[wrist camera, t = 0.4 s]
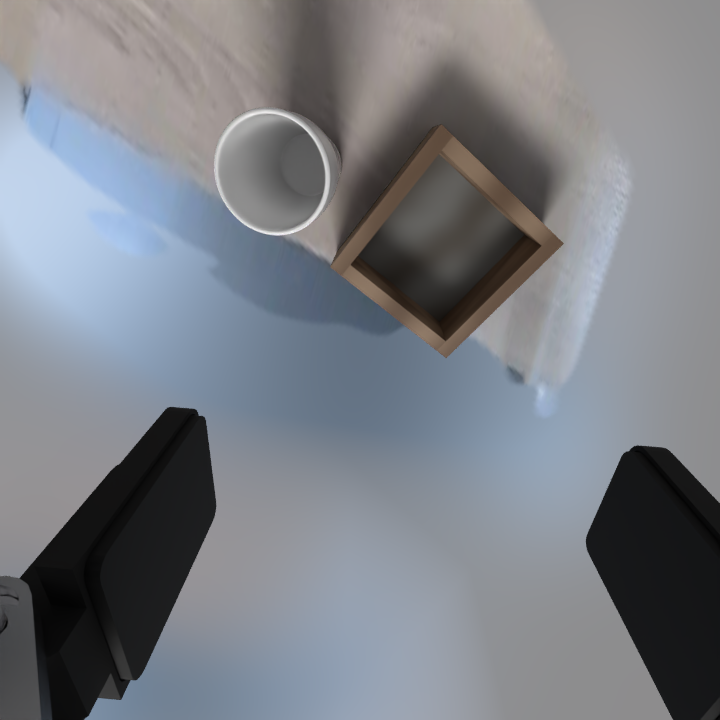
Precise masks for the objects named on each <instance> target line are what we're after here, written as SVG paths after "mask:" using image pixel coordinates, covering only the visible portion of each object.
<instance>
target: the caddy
mask: <svg viewBox="0 0 720 720" xmlns="http://www.w3.org/2000/svg"><path fill="white" fill-rule="evenodd" d="M563 244H564V243H563V242H562V241H561V240H560V239H558V238H557V237H556V236H555V235H554V234H553V233H552V232H551V231H550V230H549V229H548V228H547V227H546V226H545V225H544V224H543V223H542V222H541V221H540V220H539V219H538V218H537V217H536V216H535V215H534V214H533V213H532V212H531V211H530V210H529V209H528V208H527V207H526V206H525V205H524V204H523V203H522V202H521V201H519V200H518V199H517V198H516V197H515V196H514V195H513V194H512V193H511V192H510V191H509V190H508V189H507V188H506V187H505V186H504V185H503V184H502V183H501V182H500V181H499V180H498V179H497V178H496V177H495V176H494V175H493V174H492V173H491V172H490V171H489V170H488V169H487V168H486V167H485V166H484V165H483V164H482V163H481V162H479V161H478V160H477V159H476V158H475V157H474V156H473V155H472V154H471V153H470V152H469V151H468V150H467V149H466V148H465V147H464V146H463V145H462V144H461V143H460V142H459V141H458V140H457V139H456V138H455V137H454V136H453V135H452V134H451V133H450V132H449V131H448V130H447V129H446V128H445V127H444V126H443V125H442V124H440V125H438V126H435V127H433V128H432V129H431V130H430V132H429V133H428V134H427V136H426V137H425V138H424V140H423V141H422V142H421V143H420V145H419V146H418V147H417V149H416V150H415V151H414V153H413V154H412V155H411V156H410V158H409V159H408V160H407V162H406V163H405V164H404V166H403V167H402V168H401V169H400V171H399V172H398V173H397V175H396V176H395V177H394V178H393V180H392V181H391V182H390V184H389V185H388V186H387V188H386V189H385V190H384V191H383V193H382V194H381V195H380V197H379V198H378V199H377V201H376V202H375V203H374V204H373V206H372V207H371V208H370V210H369V211H368V212H367V214H366V215H365V216H364V217H363V219H362V220H361V221H360V223H359V224H358V225H357V227H356V228H355V229H354V230H353V232H352V233H351V234H350V236H349V237H348V238H347V240H346V241H345V242H344V243H343V245H342V246H341V247H340V249H339V250H338V251H337V253H336V255H335V257H334V260H333V262H332V264H331V268H332V269H334V270H335V271H336V272H337V273H339V274H340V275H341V276H342V277H344V278H345V279H346V280H348V281H349V282H350V283H351V284H353V285H354V286H355V287H356V288H358V289H359V290H360V291H362V292H363V293H364V294H365V295H367V296H368V297H369V298H370V299H372V300H373V301H374V302H375V303H377V304H378V305H379V306H381V307H382V308H383V309H384V310H386V311H387V312H388V313H389V314H391V315H392V316H393V317H395V318H396V319H397V320H398V321H400V322H401V323H402V324H403V325H405V326H406V327H407V328H409V329H410V330H411V331H412V332H414V333H415V334H416V335H418V336H419V337H420V338H421V339H423V340H424V341H425V342H426V343H428V344H429V345H430V346H431V347H433V348H434V349H435V350H437V351H438V352H439V353H440V354H442V355H443V356H444V357H445V358H447V357H448V356H449V355H450V354H451V353H452V352H453V351H454V350H455V349H456V348H457V347H458V346H459V345H460V344H461V343H462V342H463V341H464V340H465V339H466V338H467V337H468V336H469V335H470V334H471V333H473V332H474V331H475V330H476V329H477V328H478V327H479V326H480V325H481V324H482V323H483V322H484V321H485V320H486V319H487V318H488V317H489V316H490V315H491V314H492V313H493V312H494V311H495V310H496V309H497V308H498V307H499V306H500V305H501V304H502V303H503V302H504V301H505V300H506V299H507V298H508V297H509V296H510V295H512V294H513V293H514V292H515V291H516V290H517V289H518V288H519V287H520V286H521V285H522V284H523V283H524V282H525V281H526V280H527V279H528V278H529V277H530V276H531V275H532V274H533V273H534V272H535V271H536V270H537V269H538V268H539V267H540V266H541V265H542V264H543V263H544V262H545V261H546V260H547V259H548V258H550V257H551V256H552V255H553V254H554V253H555V252H556V251H557V250H558V249H559V248H560V247H561V246H562V245H563Z"/></svg>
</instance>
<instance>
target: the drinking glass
mask: <svg viewBox="0 0 720 720" xmlns="http://www.w3.org/2000/svg"><path fill="white" fill-rule="evenodd" d="M214 174H215V180H216V184H217V187H218V190H219V193H220V195H221V197H222V199H223V201H224V203H225V204H226V206H227V207H228V209H229V210H230V211H231V212H232V214H233V215H234V216H235V217H236V218H237V219H238V220H240V221H241V222H242V223H243V224H245V225H246V226H248V227H250V228H251V229H253V230H256V231H258V232H261V233H264V234H269V235H287V234H291V233H295V232H297V231H300V230H302V229H303V228H305V227H307V226H308V225H309V224H311V223H312V222H314V221H315V220H316V219H317V218H318V217H319V216H320V215H321V214H322V213H323V212H324V211H325V210H326V208H327V207H328V205H329V204H330V202H331V200H332V198H333V196H334V194H335V191H336V188H337V184H338V180H339V178H340V174H341V158H340V154H339V151H338V149H337V147H336V146H335V144H334V143H333V141H332V140H331V139H330V138H329V137H327V135H326V134H325V133H324V132H323V131H322V130H321V129H320V128H319V127H318V126H317V125H316V124H315V123H314V122H312V121H311V120H309V119H308V118H306V117H304V116H302V115H300V114H298V113H296V112H293V111H290V110H286V109H280V108H272V107H261V108H255V109H251V110H248V111H246V112H244V113H242V114H240V115H239V116H237V117H236V118H235V119H233V120H232V121H231V122H230V123H229V124H228V126H227V127H226V128H225V129H224V131H223V133H222V134H221V136H220V138H219V141H218V143H217V146H216V151H215V156H214Z"/></svg>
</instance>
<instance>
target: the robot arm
mask: <svg viewBox="0 0 720 720" xmlns="http://www.w3.org/2000/svg"><path fill="white" fill-rule="evenodd" d="M215 512H216V498H215V490H214V483H213V474H212V466H211V458H210V450H209V442H208V434H207V426H206V420H205V417H203V416H199V415H198V412H197V410H195V409H189V408H176V407H169V408H167V409H166V410H165V411H164V412H163V413H162V415H161V416H160V417H159V418H158V419H157V420H156V422H155V423H154V424H153V425H152V426H151V428H150V429H149V430H148V431H147V432H146V434H145V435H144V436H143V437H142V438H141V439H140V441H139V442H138V443H137V444H136V446H135V447H134V448H133V449H132V450H131V451H130V453H129V454H128V455H127V456H126V457H125V458H124V460H123V461H122V462H121V463H120V464H119V465H117V466H116V467H115V468H113V469H112V470H111V471H110V473H109V474H108V475H107V476H106V477H105V479H104V480H103V481H102V482H101V483H100V484H99V486H98V487H97V488H96V489H95V490H94V491H93V492H92V494H91V495H90V496H89V497H88V498H87V500H86V501H85V502H84V503H83V504H82V506H81V507H80V508H79V509H78V510H77V512H76V513H75V514H74V515H73V516H72V517H71V518H70V520H69V521H68V522H67V523H66V524H65V525H64V527H63V528H62V529H61V530H60V531H59V533H58V534H57V535H56V536H55V537H54V538H53V540H52V541H51V542H50V543H49V544H48V545H47V547H46V548H45V549H44V550H43V551H42V552H41V554H40V555H39V556H38V557H37V558H36V560H35V561H34V562H33V563H32V564H31V565H30V567H29V568H28V569H27V570H26V571H25V572H24V574H23V575H22V576H21V577H20V578H14V577H10V576H0V720H84V719H85V718H86V717H87V716H89V714H90V712H91V710H92V708H93V706H94V704H95V702H96V700H97V698H106V699H116V700H121V699H122V697H123V695H124V692H125V690H126V688H127V686H128V684H129V682H130V680H137V679H138V678H139V677H140V676H141V674H142V673H143V671H144V669H145V667H146V665H147V663H148V661H149V658H150V656H151V654H152V652H153V650H154V647H155V645H156V643H157V641H158V639H159V637H160V634H161V632H162V630H163V628H164V626H165V624H166V622H167V619H168V617H169V615H170V613H171V611H172V608H173V606H174V604H175V602H176V599H177V598H178V595H179V593H180V591H181V589H182V587H183V585H184V582H185V580H186V578H187V576H188V574H189V572H190V569H191V567H192V565H193V563H194V561H195V558H196V556H197V554H198V552H199V550H200V548H201V545H202V543H203V541H204V539H205V537H206V535H207V533H208V530H209V528H210V526H211V524H212V521H213V519H214V516H215ZM586 547H587V550H588V553H589V555H590V557H591V559H592V561H593V563H594V565H595V567H596V569H597V571H598V573H599V575H600V577H601V579H602V581H603V583H604V585H605V587H606V588H607V591H608V593H609V595H610V597H611V599H612V600H613V602H614V605H615V606H616V608H617V610H618V612H619V614H620V616H621V618H622V620H623V622H624V624H625V626H626V628H627V630H628V632H629V634H630V636H631V638H632V640H633V642H634V644H635V646H636V648H637V649H638V652H639V654H640V656H641V658H642V660H643V661H644V664H645V666H646V668H647V669H648V671H649V673H650V675H651V677H652V679H653V681H654V683H655V685H656V687H657V689H658V691H659V693H660V695H661V697H662V699H663V701H664V703H665V705H666V707H667V709H668V711H669V713H670V715H671V717H672V718H673V720H720V503H719V502H718V501H717V500H716V499H715V498H714V497H713V496H712V495H711V494H710V493H709V492H708V491H707V490H706V488H704V486H702V485H701V483H700V482H699V481H698V480H697V479H696V478H695V477H694V476H693V475H692V474H691V473H690V472H689V471H688V470H687V469H686V468H685V466H684V465H683V464H682V463H681V462H680V461H679V460H678V459H677V458H676V457H675V456H674V455H673V454H672V453H671V452H670V451H669V450H668V449H666V448H661V447H649V446H634V447H633V448H631V449H630V451H628V452H625V453H624V454H623V455H622V457H621V459H620V461H619V464H618V466H617V468H616V470H615V473H614V475H613V477H612V479H611V482H610V484H609V486H608V489H607V491H606V493H605V496H604V498H603V500H602V502H601V504H600V507H599V509H598V511H597V514H596V516H595V518H594V520H593V523H592V525H591V527H590V529H589V532H588V534H587V537H586Z"/></svg>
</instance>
